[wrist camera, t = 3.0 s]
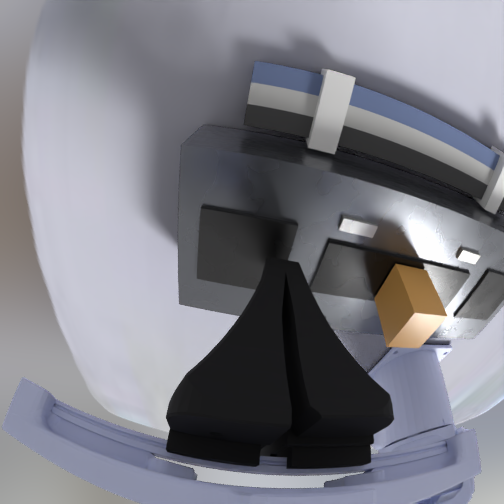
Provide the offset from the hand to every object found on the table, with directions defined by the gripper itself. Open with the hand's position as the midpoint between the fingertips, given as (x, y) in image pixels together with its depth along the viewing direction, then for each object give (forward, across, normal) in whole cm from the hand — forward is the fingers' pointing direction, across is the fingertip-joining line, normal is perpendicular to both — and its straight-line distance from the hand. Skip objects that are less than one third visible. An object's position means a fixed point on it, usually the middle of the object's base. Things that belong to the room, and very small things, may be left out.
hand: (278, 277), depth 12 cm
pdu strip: (+5, -6, 0) cm, 8 cm away
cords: (+5, -6, -6) cm, 10 cm away
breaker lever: (+1, -6, 0) cm, 6 cm away
